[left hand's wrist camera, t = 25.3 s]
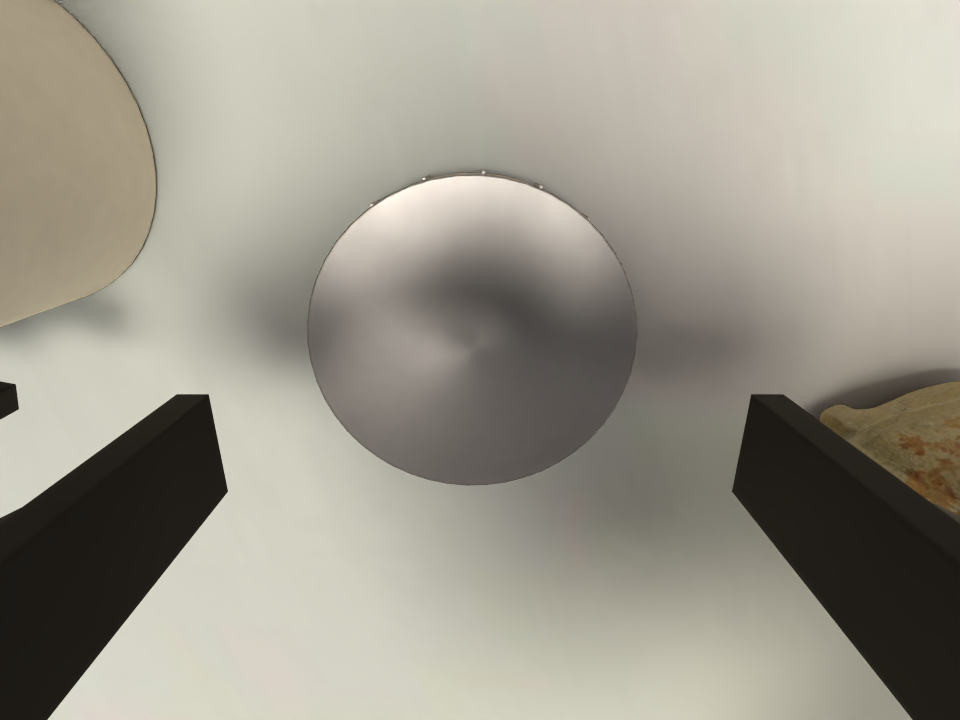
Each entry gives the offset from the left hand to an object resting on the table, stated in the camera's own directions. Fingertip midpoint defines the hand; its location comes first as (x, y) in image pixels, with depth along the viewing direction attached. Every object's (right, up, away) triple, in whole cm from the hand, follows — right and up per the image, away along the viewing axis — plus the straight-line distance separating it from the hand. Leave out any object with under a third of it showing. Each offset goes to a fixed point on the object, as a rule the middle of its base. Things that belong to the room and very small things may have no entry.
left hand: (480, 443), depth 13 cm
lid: (0, +3, +4) cm, 5 cm away
